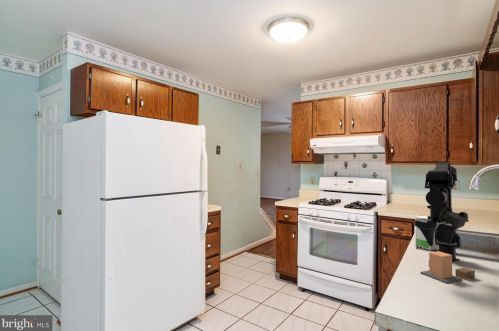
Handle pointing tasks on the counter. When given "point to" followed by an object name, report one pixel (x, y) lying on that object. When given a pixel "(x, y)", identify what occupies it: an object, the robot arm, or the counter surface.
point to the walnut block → (465, 273)
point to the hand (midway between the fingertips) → (439, 244)
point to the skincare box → (421, 239)
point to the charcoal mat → (445, 280)
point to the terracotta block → (440, 264)
